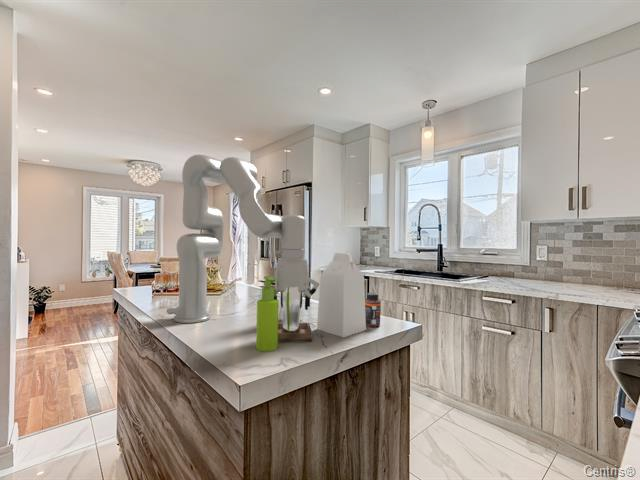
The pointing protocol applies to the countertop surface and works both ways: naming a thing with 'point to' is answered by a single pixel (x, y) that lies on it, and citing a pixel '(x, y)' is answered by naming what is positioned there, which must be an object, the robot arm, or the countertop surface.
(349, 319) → the milk
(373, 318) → the supplement bottle
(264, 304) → the soap dispenser
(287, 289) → the beer glass
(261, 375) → the countertop surface
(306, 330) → the walnut tray
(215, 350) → the countertop surface
